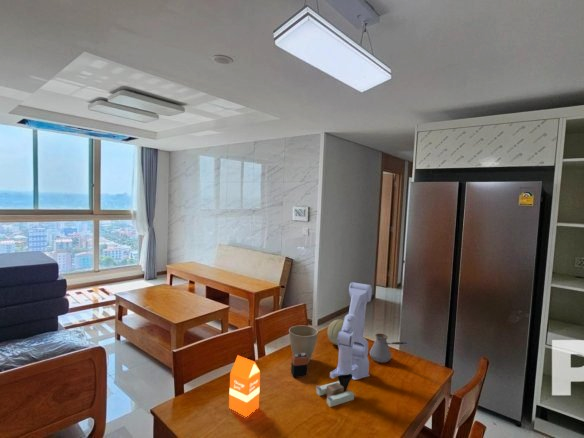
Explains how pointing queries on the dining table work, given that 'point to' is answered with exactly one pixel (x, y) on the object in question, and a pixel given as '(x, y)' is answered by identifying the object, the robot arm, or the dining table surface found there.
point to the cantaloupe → (334, 330)
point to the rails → (335, 398)
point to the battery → (299, 365)
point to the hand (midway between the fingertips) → (343, 390)
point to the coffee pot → (382, 348)
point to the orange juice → (244, 386)
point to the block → (334, 389)
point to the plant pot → (303, 340)
